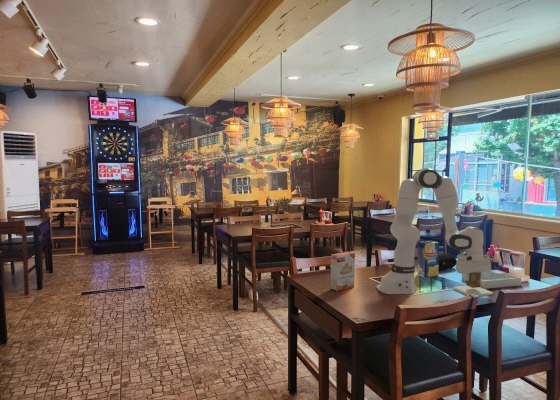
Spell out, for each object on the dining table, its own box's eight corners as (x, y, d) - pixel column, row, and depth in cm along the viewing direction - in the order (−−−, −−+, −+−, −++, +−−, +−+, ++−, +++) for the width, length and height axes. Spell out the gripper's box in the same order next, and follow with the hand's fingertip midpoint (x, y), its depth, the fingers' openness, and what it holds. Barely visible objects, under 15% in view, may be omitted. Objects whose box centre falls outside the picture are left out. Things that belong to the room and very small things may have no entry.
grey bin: (483, 289, 205) (483, 281, 205) (461, 280, 222) (462, 272, 222) (520, 286, 211) (521, 277, 210) (496, 277, 228) (496, 269, 227)
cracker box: (337, 292, 204) (337, 256, 202) (330, 289, 209) (330, 254, 207) (355, 287, 211) (355, 252, 209) (348, 285, 216) (348, 250, 214)
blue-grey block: (497, 283, 215) (497, 273, 214) (490, 280, 219) (491, 271, 219) (504, 282, 216) (504, 272, 215) (497, 280, 221) (498, 270, 220)
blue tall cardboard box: (438, 275, 233) (439, 242, 231) (424, 277, 229) (425, 243, 228) (431, 272, 239) (431, 240, 237) (417, 274, 236) (418, 241, 234)
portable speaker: (429, 273, 238) (430, 259, 237) (418, 270, 247) (418, 255, 246) (457, 269, 248) (458, 255, 247) (446, 265, 257) (446, 252, 256)
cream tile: (471, 297, 193) (471, 294, 193) (453, 289, 206) (453, 286, 206) (493, 295, 196) (493, 292, 196) (474, 287, 209) (474, 284, 209)
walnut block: (472, 287, 198) (473, 273, 197) (466, 285, 203) (466, 271, 202) (480, 287, 199) (480, 272, 198) (473, 284, 204) (474, 270, 203)
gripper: (485, 253, 205) (484, 276, 206) (454, 255, 200) (453, 279, 201) (494, 255, 199) (493, 280, 200) (462, 258, 194) (461, 283, 195)
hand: (473, 279), depth 201 cm, fingers closed on walnut block, 5 cm apart
